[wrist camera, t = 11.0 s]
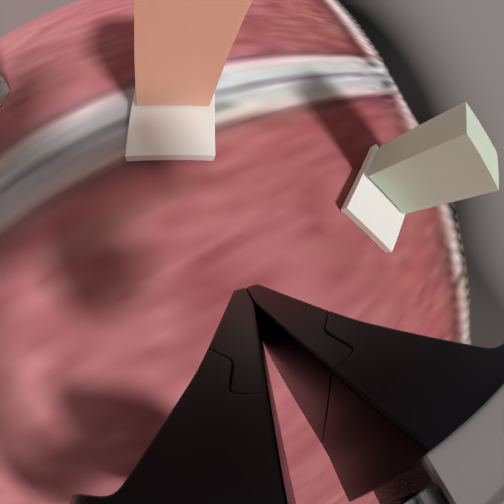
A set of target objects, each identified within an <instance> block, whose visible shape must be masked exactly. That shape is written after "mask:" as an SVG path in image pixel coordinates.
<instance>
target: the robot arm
mask: <svg viewBox="0 0 504 504" xmlns="http://www.w3.org/2000/svg"><path fill="white" fill-rule="evenodd" d="M263 344H264V346H265V348H266V350H267V351H268V353H269V355H270V357H271V359H272V360H273V362H274V364H275V366H276V367H277V369H278V371H279V373H280V374H281V376H282V378H283V380H284V381H285V383H286V385H287V387H288V388H289V390H290V392H291V393H292V395H293V397H294V399H295V400H296V402H297V404H298V405H299V407H300V409H301V410H302V412H303V414H304V415H305V417H306V419H307V420H308V422H309V424H310V425H311V427H312V429H313V430H314V432H315V434H316V435H317V437H318V439H319V440H320V442H321V443H322V445H323V447H324V448H325V450H326V452H327V454H328V456H329V458H330V460H331V462H332V464H333V466H334V469H335V471H336V473H337V475H338V478H339V480H340V482H341V484H342V487H343V489H344V491H345V493H346V496H347V498H348V500H349V501H353V500H355V499H357V498H359V497H361V496H363V495H365V494H368V493H370V492H372V491H374V493H375V495H376V497H377V499H378V501H379V503H380V504H504V344H502V345H501V346H498V347H495V348H484V347H479V346H473V345H468V344H462V343H457V342H452V341H447V340H442V339H437V338H432V337H427V336H423V335H418V334H413V333H409V332H404V331H400V330H395V329H391V328H386V327H382V326H378V325H374V324H370V323H366V322H362V321H358V320H355V319H351V318H348V317H345V316H342V315H339V314H337V313H334V312H331V311H330V312H329V311H327V310H324V309H322V308H319V307H316V306H313V305H311V304H308V303H305V302H303V301H300V300H297V299H295V298H292V297H289V296H287V295H284V294H282V293H279V292H276V291H274V290H271V289H269V288H266V287H263V286H261V285H258V284H256V285H253V286H250V287H247V289H245V288H243V289H239V290H235V291H234V292H233V294H232V297H231V299H230V301H229V303H228V306H227V308H226V310H225V312H224V315H223V317H222V319H221V321H220V324H219V326H218V328H217V330H216V332H215V335H214V337H213V339H212V341H211V344H210V346H209V348H208V350H207V352H206V354H205V356H204V358H203V360H202V362H201V364H200V366H199V368H198V370H197V372H196V374H195V375H194V377H193V379H192V380H191V382H190V384H189V385H188V387H187V388H186V390H185V392H184V393H183V395H182V396H181V398H180V399H179V401H178V402H177V404H176V405H175V407H174V409H173V410H172V412H171V413H170V415H169V416H168V418H167V419H166V421H165V422H164V424H163V425H162V427H161V428H160V430H159V431H158V433H157V434H156V436H155V437H154V439H153V440H152V442H151V443H150V445H149V446H148V448H147V449H146V451H145V452H144V454H143V455H142V457H141V458H140V460H139V461H138V463H137V464H136V466H135V467H134V469H133V470H132V472H131V473H130V475H129V476H128V477H127V479H126V480H125V482H124V483H123V485H122V486H121V487H120V488H119V490H118V491H116V492H115V493H113V494H112V495H109V496H102V497H99V496H91V495H83V494H76V495H73V496H72V499H71V503H70V504H296V501H295V497H294V492H293V488H292V483H291V479H290V474H289V470H288V465H287V460H286V455H285V450H284V445H283V441H282V436H281V431H280V426H279V421H278V416H277V411H276V406H275V401H274V396H273V391H272V386H271V381H270V376H269V371H268V366H267V361H266V355H265V350H264V346H263Z"/></svg>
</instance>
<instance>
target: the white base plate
mask: <svg viewBox="0 0 504 504" xmlns="http://www.w3.org/2000/svg"><path fill="white" fill-rule="evenodd" d="M379 149H380V148H379V146H378V145H377V144H375V145H373V146H372V147H370V149H369V151H368V154H367V156H366V158H365V160H364V162H363V164H362V167H361V169H360V171H359V173H358V175H357V177H356V179H355V181H354V184H353V186H352V188H351V190H350V192H349V194H348V196H347V198H346V200H345V202H344V204H343V206H342V208H341V211H342V212H343V213H344V214H345V215H346V216H347V217H348V218H349V219H351V220H352V221H353V222H354V223H355V224H356V225H357V226H358V227H359V228H360V229H361V230H362V231H363V232H365V233H366V234H367V235H368V236H369V237H370V238H371V239H372V240H373V241H374V242H375V243H376V244H377V245H378V246H379V247H380V248H381V249H382V250H383V251H384V252H385V253H387V252H392V250H393V248H394V245H395V242H396V240H397V237H398V234H399V231H400V228H401V226H402V223H403V220H404V217H405V214H403V213H402V212H401V211H400V210H399V209H398V207H397V206H396V205H395V204H394V203H393V202H392V201H391V200H390V199H389V198H388V197H387V195H386V194H385V193H384V192H383V191H382V190H381V189H380V188H379V187H378V186H377V185H376V184H375V183H374V182H373V181H372V180H371V179H370V178H369V177H368V175H369V173H370V171H371V168H372V166H373V164H374V161H375V159H376V157H377V154H378V152H379Z"/></svg>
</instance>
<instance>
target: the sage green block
mask: <svg viewBox="0 0 504 504" xmlns="http://www.w3.org/2000/svg"><path fill="white" fill-rule="evenodd" d="M368 177H369V178H370V179H371V180H372V181H373V182H374V183H375V184H376V185H377V186H378V187H379V188H380V189H381V190H382V191H383V192H384V193H385V194H386V195H387V197H388V198H389V199H390V200H391V201H392V202H393V203H394V204H395V205H396V206H397V207H398V209H399V210H400V211H401V212H402V213H403V214H406V213H410V212H414V211H418V210H422V209H426V208H430V207H434V206H438V205H442V204H446V203H450V202H454V201H458V200H462V199H466V198H470V197H474V196H478V195H481V194H486V193H490V192H494V191H498V190H499V180H498V179H499V178H498V160H497V152H496V150H495V149H494V147H493V145H492V143H491V141H490V139H489V138H488V136H487V134H486V132H485V131H484V129H483V128H482V126H481V124H480V123H479V121H478V119H477V118H476V116H475V115H474V113H473V112H472V110H471V109H470V107H469V106H468V105H467V103H466V102H464V103H462V104H460V105H458V106H456V107H454V108H452V109H450V110H448V111H446V112H444V113H442V114H440V115H438V116H436V117H435V118H432V119H431V120H429V121H427V122H425V123H423V124H421V125H419V126H417V127H415V128H413V129H411V130H410V131H408V132H406V133H404V134H402V135H400V136H398V137H396V138H395V139H393V140H391V141H389V142H387V143H385V144H384V145H382V146H381V147H380V149H379V152H378V154H377V157H376V159H375V161H374V164H373V166H372V168H371V171H370V173H369V175H368Z"/></svg>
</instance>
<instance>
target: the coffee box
mask: <svg viewBox="0 0 504 504" xmlns="http://www.w3.org/2000/svg"><path fill="white" fill-rule="evenodd" d="M9 92H10V88H9V86H8V85H7V83H6V81H5V80H4V78H3V76H2V75H1V73H0V107H1V105H2V103H3V102H4V100H5V98H6V97H7V95H8V93H9Z"/></svg>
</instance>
